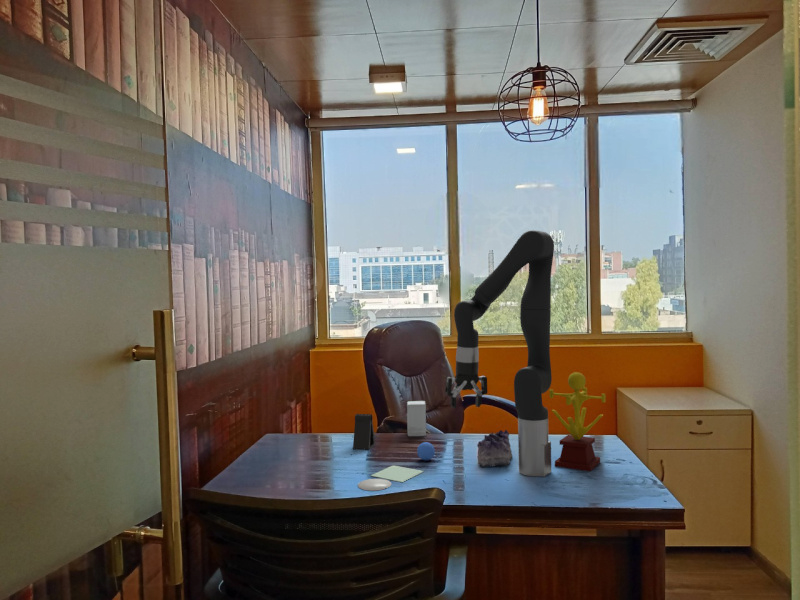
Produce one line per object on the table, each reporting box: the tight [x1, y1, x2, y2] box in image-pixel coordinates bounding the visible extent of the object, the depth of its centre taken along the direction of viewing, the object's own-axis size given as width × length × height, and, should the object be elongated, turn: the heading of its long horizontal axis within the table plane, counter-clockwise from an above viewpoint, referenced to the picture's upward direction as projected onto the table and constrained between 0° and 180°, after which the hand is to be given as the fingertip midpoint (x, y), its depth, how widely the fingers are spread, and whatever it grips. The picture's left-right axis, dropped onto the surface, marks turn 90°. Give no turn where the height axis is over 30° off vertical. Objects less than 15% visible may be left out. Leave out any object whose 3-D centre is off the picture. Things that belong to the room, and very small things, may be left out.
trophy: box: [548, 371, 607, 472], centre depth 193 cm, size 14×16×30 cm
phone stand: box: [352, 413, 376, 451], centre depth 220 cm, size 9×6×12 cm, turn 166°
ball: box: [416, 441, 436, 461], centre depth 201 cm, size 6×6×6 cm
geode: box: [476, 429, 513, 468], centre depth 199 cm, size 20×12×10 cm, turn 164°
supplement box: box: [406, 400, 427, 437], centre depth 236 cm, size 7×7×13 cm
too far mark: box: [357, 478, 392, 492], centre depth 177 cm, size 10×10×1 cm
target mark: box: [370, 465, 424, 483], centre depth 187 cm, size 12×12×1 cm
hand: (465, 407), depth 200 cm, fingers open, 8 cm apart
